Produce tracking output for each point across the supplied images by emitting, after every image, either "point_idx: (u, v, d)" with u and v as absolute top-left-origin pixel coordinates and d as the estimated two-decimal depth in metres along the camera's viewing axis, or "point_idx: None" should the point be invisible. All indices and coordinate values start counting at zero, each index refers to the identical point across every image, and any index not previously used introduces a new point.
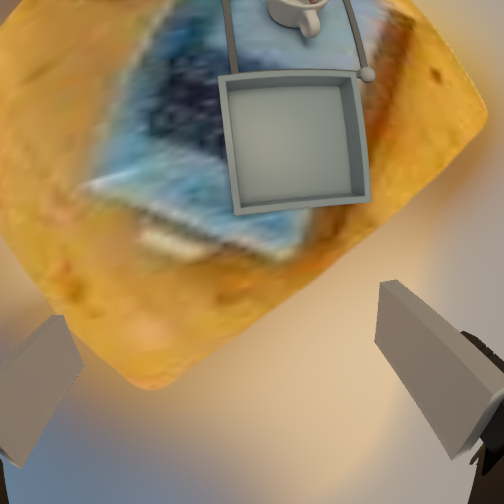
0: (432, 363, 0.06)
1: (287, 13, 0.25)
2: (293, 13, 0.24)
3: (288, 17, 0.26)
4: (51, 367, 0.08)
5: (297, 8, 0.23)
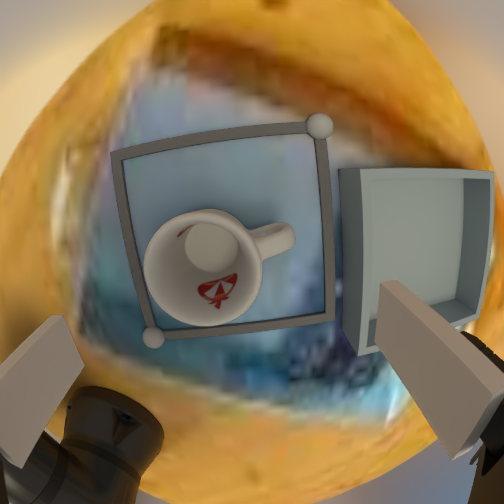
0: (432, 363, 0.06)
1: None
2: None
3: None
4: (51, 367, 0.08)
5: None
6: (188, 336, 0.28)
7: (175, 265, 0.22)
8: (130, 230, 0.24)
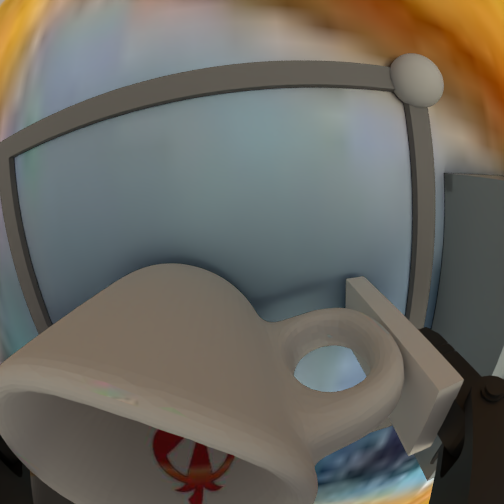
0: None
1: None
2: None
3: None
4: None
5: None
6: None
7: None
8: (33, 293, 0.10)
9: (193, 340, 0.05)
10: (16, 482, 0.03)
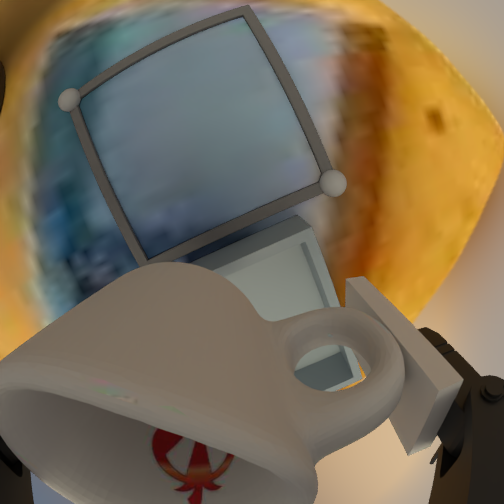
0: None
1: None
2: None
3: None
4: None
5: None
6: (79, 132, 0.21)
7: None
8: (174, 40, 0.19)
9: (193, 338, 0.05)
10: (16, 482, 0.03)
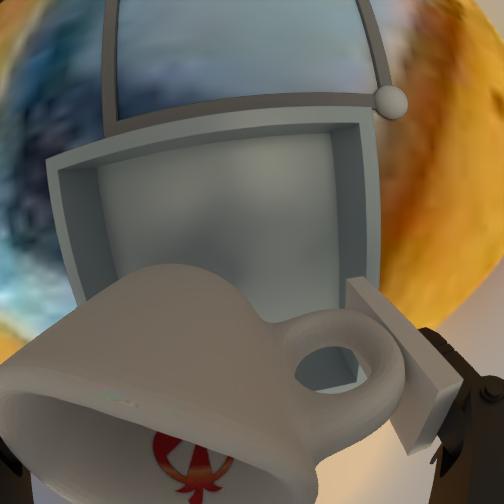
0: None
1: None
2: None
3: None
4: None
5: None
6: None
7: None
8: None
9: (194, 342, 0.05)
10: (16, 482, 0.03)
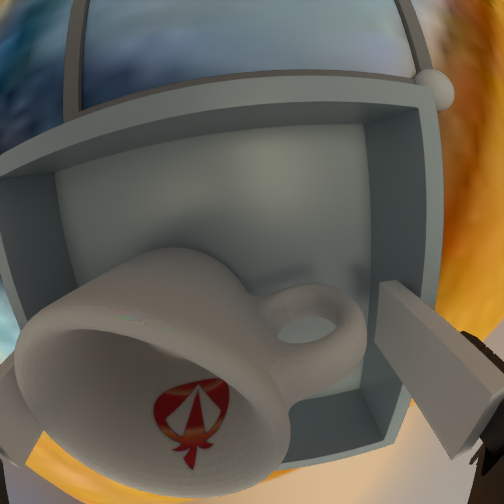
0: (432, 363, 0.06)
1: None
2: None
3: None
4: None
5: None
6: None
7: (107, 364, 0.09)
8: None
9: (189, 293, 0.06)
10: None
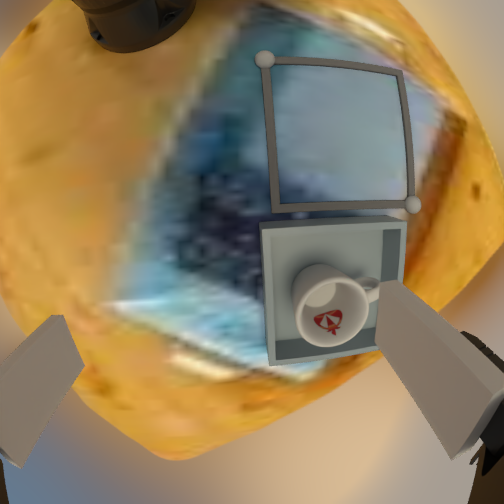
0: (432, 363, 0.06)
1: None
2: None
3: None
4: (51, 367, 0.08)
5: None
6: (264, 87, 0.29)
7: None
8: (353, 67, 0.28)
9: (348, 276, 0.28)
10: None
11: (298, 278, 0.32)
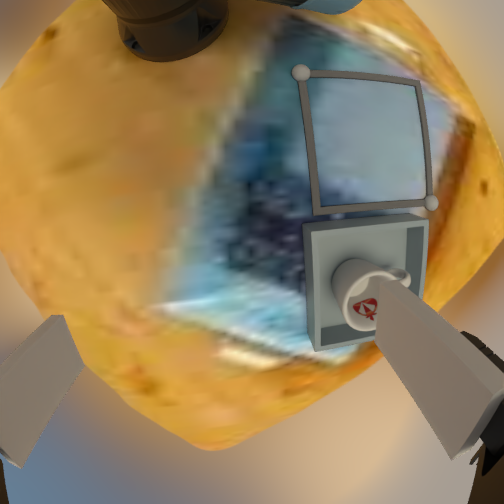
0: (432, 363, 0.06)
1: None
2: None
3: None
4: (51, 367, 0.08)
5: None
6: (302, 99, 0.31)
7: None
8: (379, 79, 0.30)
9: None
10: None
11: (339, 272, 0.35)
